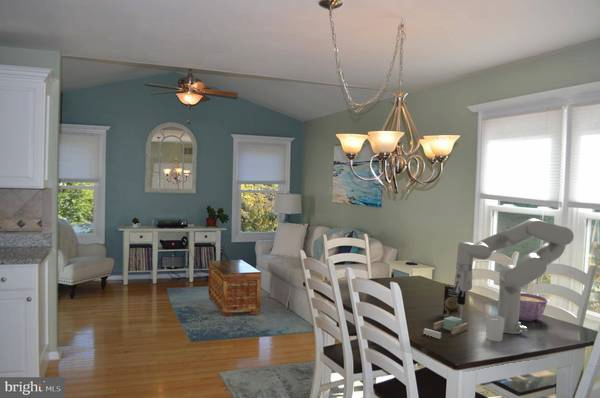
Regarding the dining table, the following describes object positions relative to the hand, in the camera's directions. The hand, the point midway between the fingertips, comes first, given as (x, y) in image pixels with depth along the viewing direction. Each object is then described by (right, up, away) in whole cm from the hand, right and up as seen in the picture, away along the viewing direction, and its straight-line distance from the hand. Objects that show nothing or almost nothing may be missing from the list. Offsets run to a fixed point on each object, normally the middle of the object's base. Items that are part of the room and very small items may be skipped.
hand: (460, 303), depth 247 cm
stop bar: (-19, -11, -19) cm, 29 cm away
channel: (-7, -11, -7) cm, 15 cm away
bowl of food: (+40, -12, +18) cm, 45 cm away
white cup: (+9, -12, -19) cm, 24 cm away
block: (-6, -11, -6) cm, 14 cm away
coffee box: (+1, -10, +16) cm, 19 cm away
